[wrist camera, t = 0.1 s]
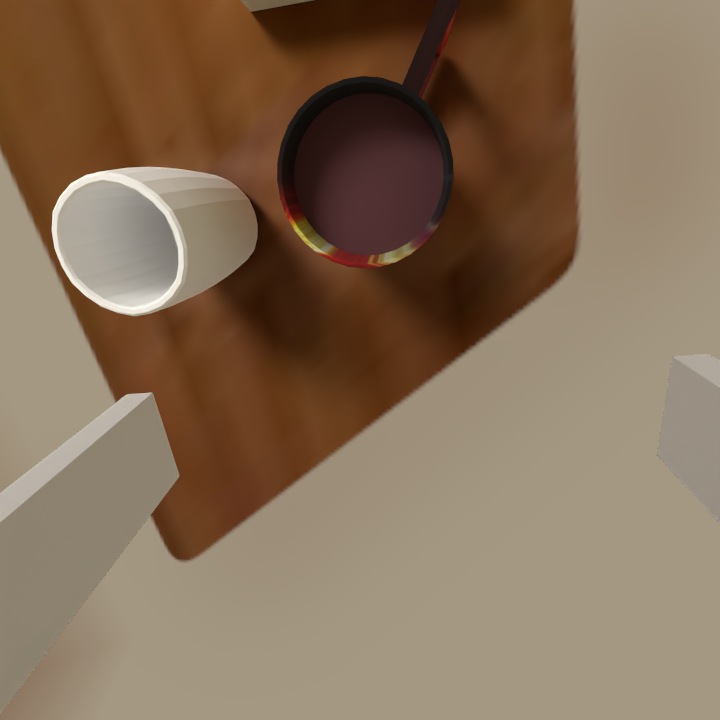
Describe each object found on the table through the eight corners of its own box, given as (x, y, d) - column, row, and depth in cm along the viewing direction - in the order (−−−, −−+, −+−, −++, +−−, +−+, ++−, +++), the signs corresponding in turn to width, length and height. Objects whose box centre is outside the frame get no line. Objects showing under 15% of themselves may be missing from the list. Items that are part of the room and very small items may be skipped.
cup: (270, 273, 39) (203, 322, 26) (178, 274, 39) (67, 321, 26) (260, 168, 36) (177, 162, 22) (160, 170, 36) (23, 166, 23)
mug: (445, 40, 31) (467, -35, 20) (434, 241, 36) (448, 268, 25) (310, 45, 32) (261, -24, 21) (319, 241, 37) (283, 267, 26)
